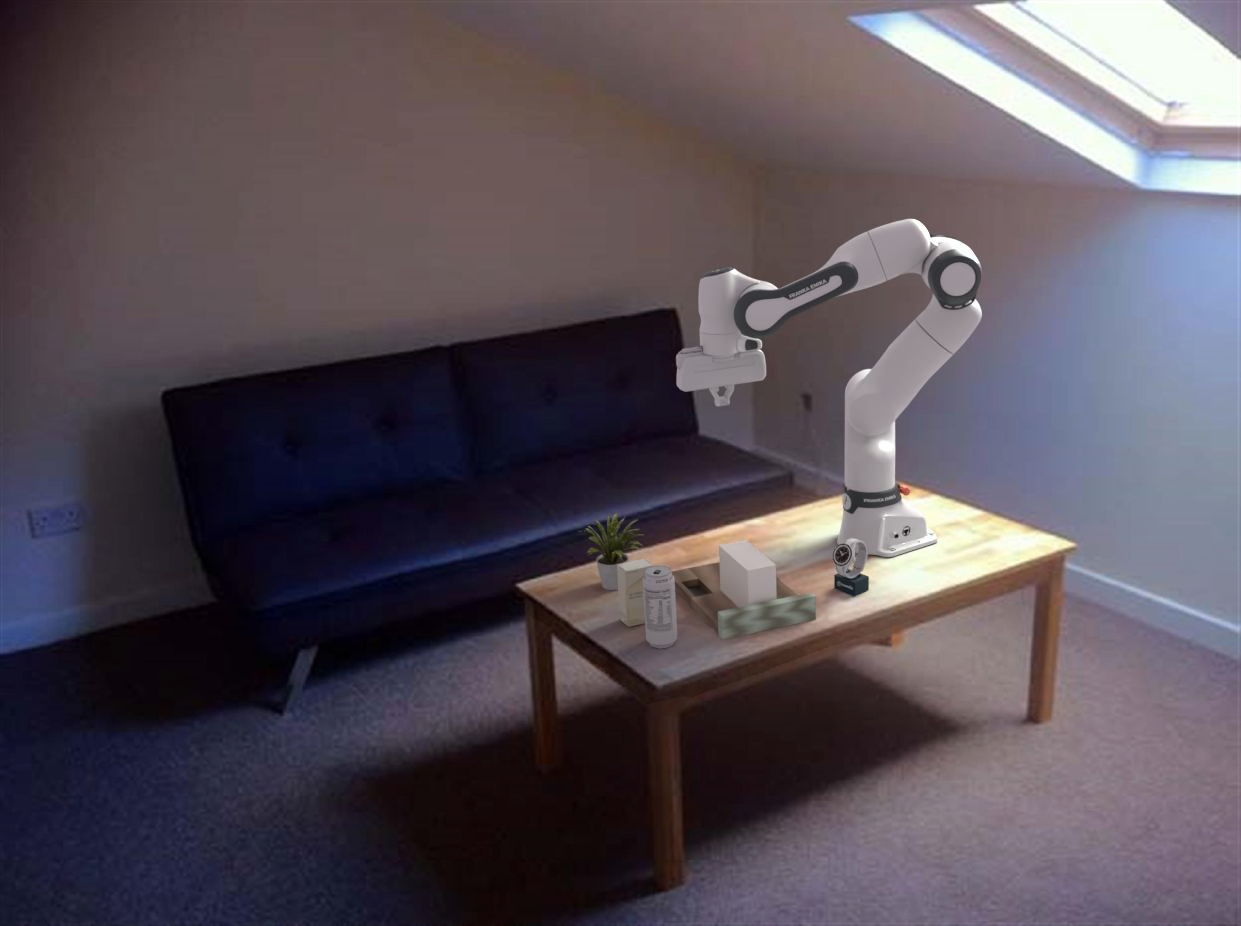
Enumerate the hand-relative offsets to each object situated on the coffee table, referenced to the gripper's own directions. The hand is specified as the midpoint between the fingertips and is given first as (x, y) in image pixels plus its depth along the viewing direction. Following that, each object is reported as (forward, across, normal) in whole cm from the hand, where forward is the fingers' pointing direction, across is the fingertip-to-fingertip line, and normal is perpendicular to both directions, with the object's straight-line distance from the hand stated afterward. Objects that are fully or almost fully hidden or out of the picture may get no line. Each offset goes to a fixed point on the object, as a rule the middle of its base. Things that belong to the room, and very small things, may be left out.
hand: (722, 405), depth 246 cm
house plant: (+34, -31, -9) cm, 47 cm away
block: (+32, -9, -31) cm, 46 cm away
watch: (+34, +14, -32) cm, 49 cm away
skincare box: (+34, -31, -26) cm, 53 cm away
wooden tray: (+34, -9, -26) cm, 44 cm away
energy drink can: (+34, -30, -37) cm, 59 cm away
